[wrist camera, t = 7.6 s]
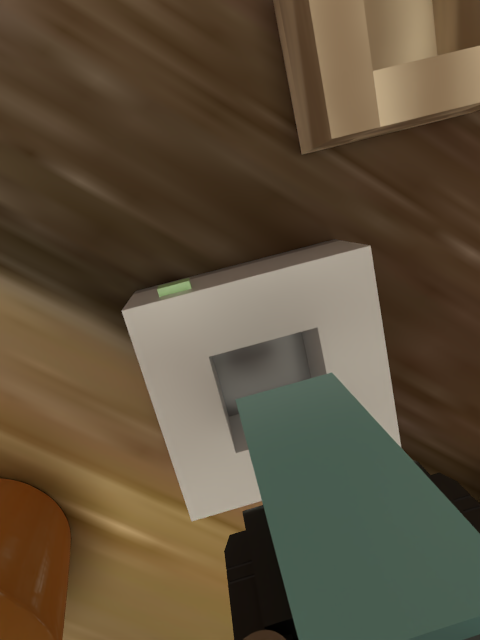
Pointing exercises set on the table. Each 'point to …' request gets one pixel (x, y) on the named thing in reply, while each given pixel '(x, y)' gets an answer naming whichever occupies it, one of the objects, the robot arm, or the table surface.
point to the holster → (377, 65)
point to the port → (255, 355)
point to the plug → (358, 522)
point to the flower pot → (32, 563)
